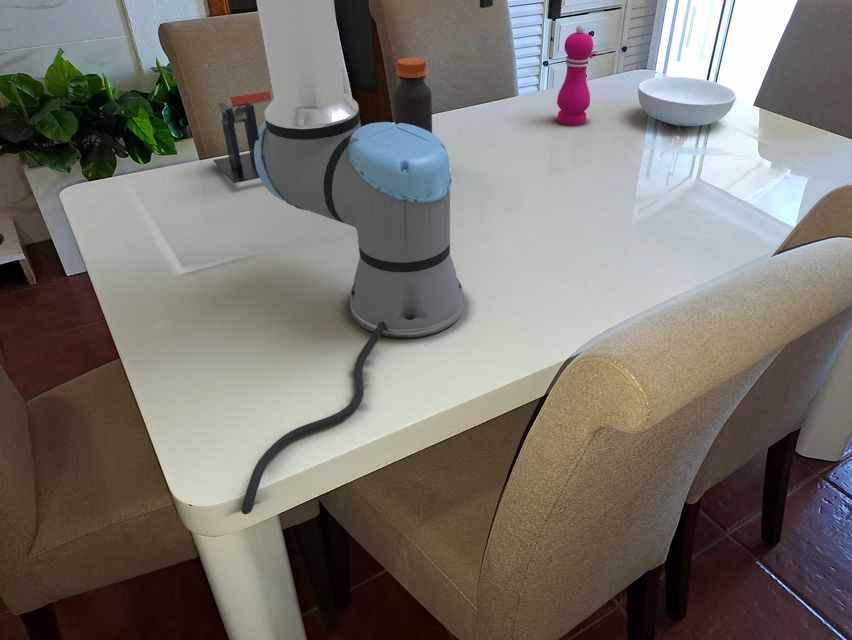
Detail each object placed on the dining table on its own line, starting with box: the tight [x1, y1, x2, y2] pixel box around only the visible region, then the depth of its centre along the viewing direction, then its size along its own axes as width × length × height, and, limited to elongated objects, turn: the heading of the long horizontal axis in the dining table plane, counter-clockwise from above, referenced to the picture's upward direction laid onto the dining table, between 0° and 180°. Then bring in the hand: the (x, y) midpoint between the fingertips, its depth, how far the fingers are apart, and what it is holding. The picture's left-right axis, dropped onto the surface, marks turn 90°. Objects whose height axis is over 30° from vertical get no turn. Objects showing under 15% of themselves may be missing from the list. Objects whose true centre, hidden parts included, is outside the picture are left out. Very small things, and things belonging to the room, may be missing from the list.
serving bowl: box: [637, 76, 737, 128], centre depth 156 cm, size 21×21×7 cm
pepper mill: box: [556, 24, 594, 126], centre depth 151 cm, size 7×7×20 cm
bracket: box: [213, 101, 260, 184], centre depth 128 cm, size 12×9×13 cm
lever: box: [228, 90, 272, 124], centre depth 121 cm, size 13×6×2 cm, turn 33°
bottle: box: [392, 57, 433, 134], centre depth 127 cm, size 7×7×20 cm
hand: (519, 12), depth 116 cm, fingers open, 13 cm apart
